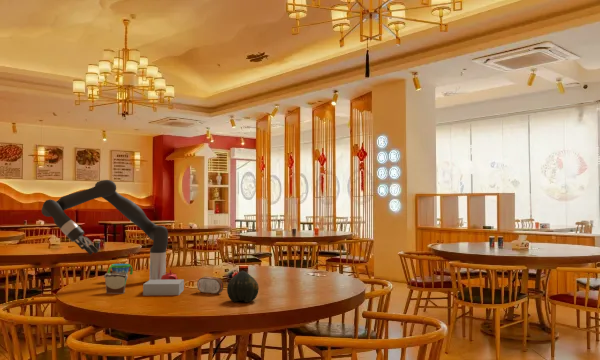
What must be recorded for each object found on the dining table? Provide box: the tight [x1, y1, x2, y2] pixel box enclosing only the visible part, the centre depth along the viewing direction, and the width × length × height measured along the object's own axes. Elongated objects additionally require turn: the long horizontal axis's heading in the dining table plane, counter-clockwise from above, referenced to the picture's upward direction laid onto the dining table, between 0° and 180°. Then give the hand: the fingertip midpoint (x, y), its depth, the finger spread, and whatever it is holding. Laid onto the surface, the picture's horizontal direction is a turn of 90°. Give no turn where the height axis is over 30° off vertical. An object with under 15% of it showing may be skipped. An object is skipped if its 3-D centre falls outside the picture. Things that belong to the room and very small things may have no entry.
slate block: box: [142, 278, 185, 296], centre depth 267 cm, size 16×18×6 cm
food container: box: [103, 272, 129, 295], centre depth 267 cm, size 12×6×10 cm, turn 84°
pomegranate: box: [161, 269, 179, 280], centre depth 287 cm, size 10×10×9 cm
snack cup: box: [106, 263, 134, 281], centre depth 305 cm, size 16×10×10 cm
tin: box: [196, 276, 224, 295], centre depth 266 cm, size 15×3×8 cm, turn 65°
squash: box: [226, 270, 260, 303], centre depth 245 cm, size 14×15×15 cm
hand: (94, 252), depth 266 cm, fingers open, 8 cm apart
